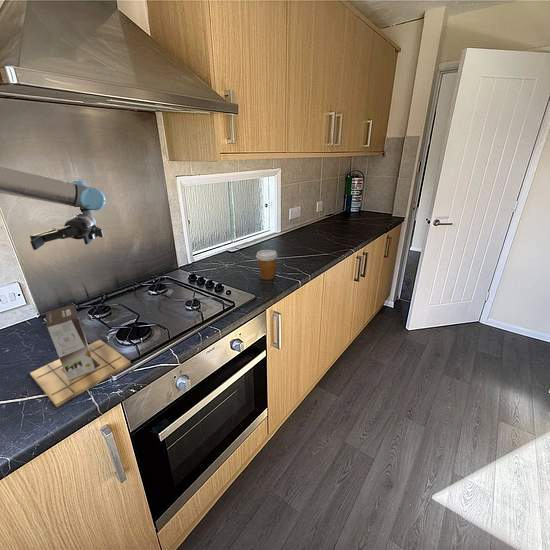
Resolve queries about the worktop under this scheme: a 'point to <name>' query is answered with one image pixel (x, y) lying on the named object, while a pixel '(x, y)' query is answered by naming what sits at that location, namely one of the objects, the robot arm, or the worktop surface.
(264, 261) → the disposable coffee cup
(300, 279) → the worktop surface
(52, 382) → the game board
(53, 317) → the coffee box
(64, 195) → the robot arm
